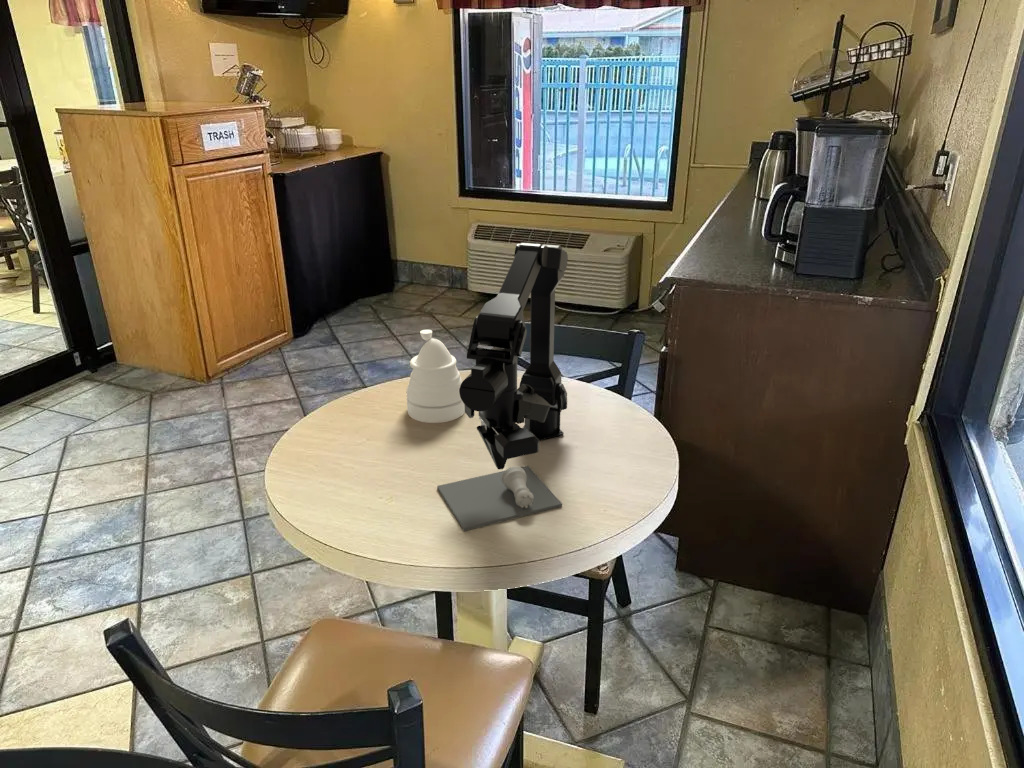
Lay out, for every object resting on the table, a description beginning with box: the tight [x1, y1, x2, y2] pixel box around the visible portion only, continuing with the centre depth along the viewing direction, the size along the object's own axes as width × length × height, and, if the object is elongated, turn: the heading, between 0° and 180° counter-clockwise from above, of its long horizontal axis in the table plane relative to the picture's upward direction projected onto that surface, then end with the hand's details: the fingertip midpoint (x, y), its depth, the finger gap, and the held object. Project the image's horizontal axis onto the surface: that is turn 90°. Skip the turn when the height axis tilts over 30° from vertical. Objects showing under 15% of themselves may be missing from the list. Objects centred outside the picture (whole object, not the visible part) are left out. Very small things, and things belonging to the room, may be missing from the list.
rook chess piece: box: [502, 465, 534, 508], centre depth 124 cm, size 4×4×8 cm
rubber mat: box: [437, 465, 563, 532], centre depth 126 cm, size 18×14×1 cm
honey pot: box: [406, 329, 465, 424], centre depth 155 cm, size 13×13×18 cm
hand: (500, 468), depth 123 cm, fingers closed
